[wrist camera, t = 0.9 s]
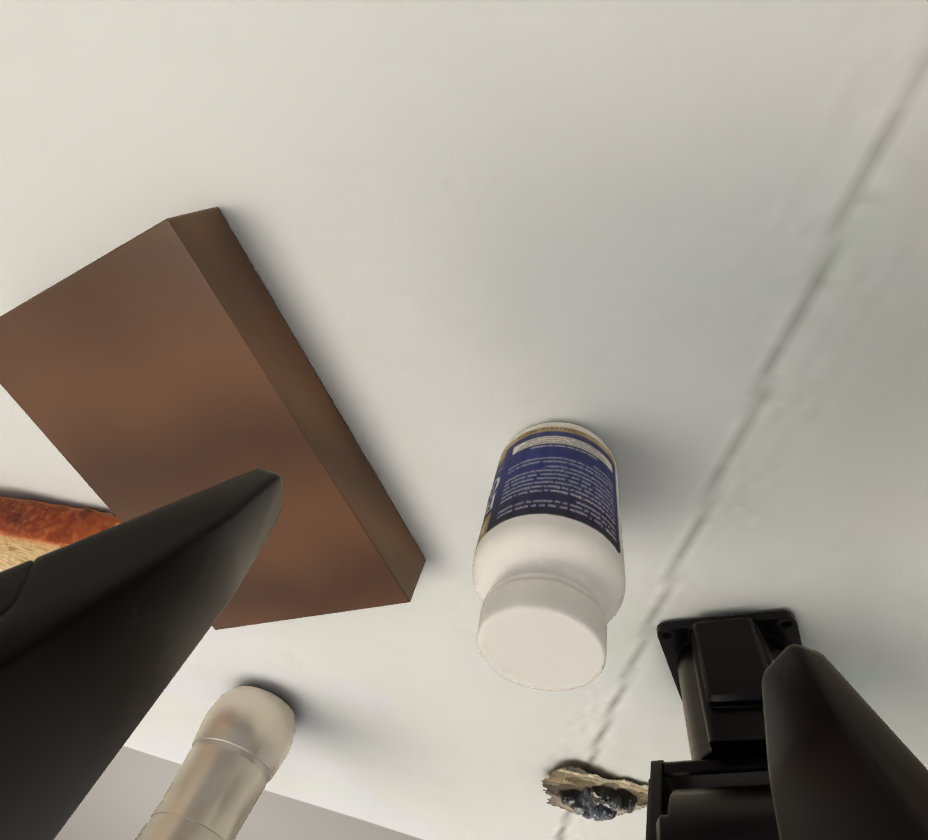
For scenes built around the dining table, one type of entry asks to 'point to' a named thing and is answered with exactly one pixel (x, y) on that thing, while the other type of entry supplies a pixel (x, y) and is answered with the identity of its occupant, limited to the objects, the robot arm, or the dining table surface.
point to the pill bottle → (550, 558)
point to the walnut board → (207, 414)
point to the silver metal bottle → (225, 768)
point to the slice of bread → (44, 528)
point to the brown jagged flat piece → (593, 794)
